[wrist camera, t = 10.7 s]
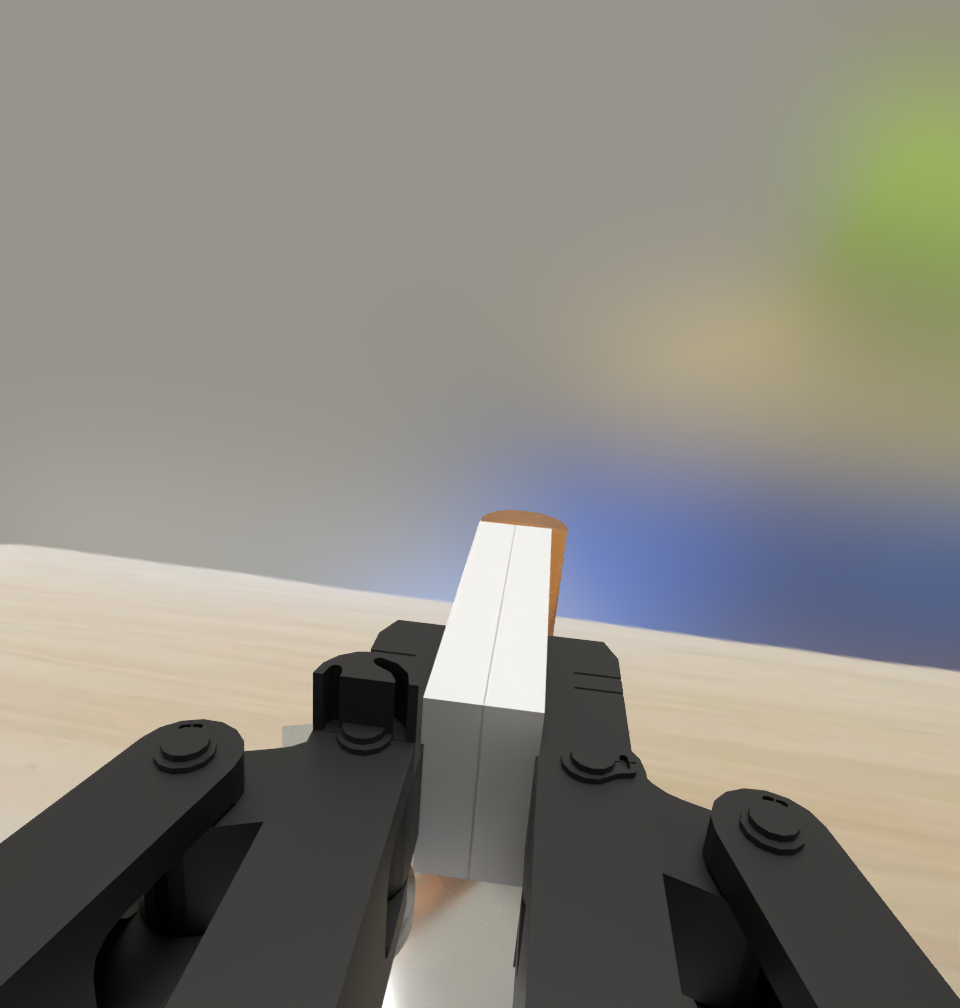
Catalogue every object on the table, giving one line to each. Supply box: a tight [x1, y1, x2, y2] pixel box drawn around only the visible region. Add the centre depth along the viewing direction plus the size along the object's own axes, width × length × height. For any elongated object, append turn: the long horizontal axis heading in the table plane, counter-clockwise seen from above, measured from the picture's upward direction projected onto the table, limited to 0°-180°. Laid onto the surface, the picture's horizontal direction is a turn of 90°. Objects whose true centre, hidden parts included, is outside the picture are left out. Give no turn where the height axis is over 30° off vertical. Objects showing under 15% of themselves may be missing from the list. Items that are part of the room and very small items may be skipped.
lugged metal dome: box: [282, 510, 567, 1008], centre depth 22 cm, size 21×19×15 cm
